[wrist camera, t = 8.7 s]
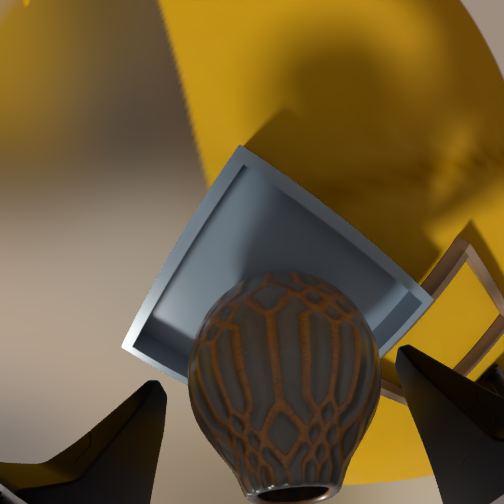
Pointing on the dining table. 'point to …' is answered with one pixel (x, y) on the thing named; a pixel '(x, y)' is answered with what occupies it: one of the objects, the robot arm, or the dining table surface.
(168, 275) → the slate tray
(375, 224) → the dining table surface
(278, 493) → the vase
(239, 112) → the dining table surface
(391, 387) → the walnut frame
